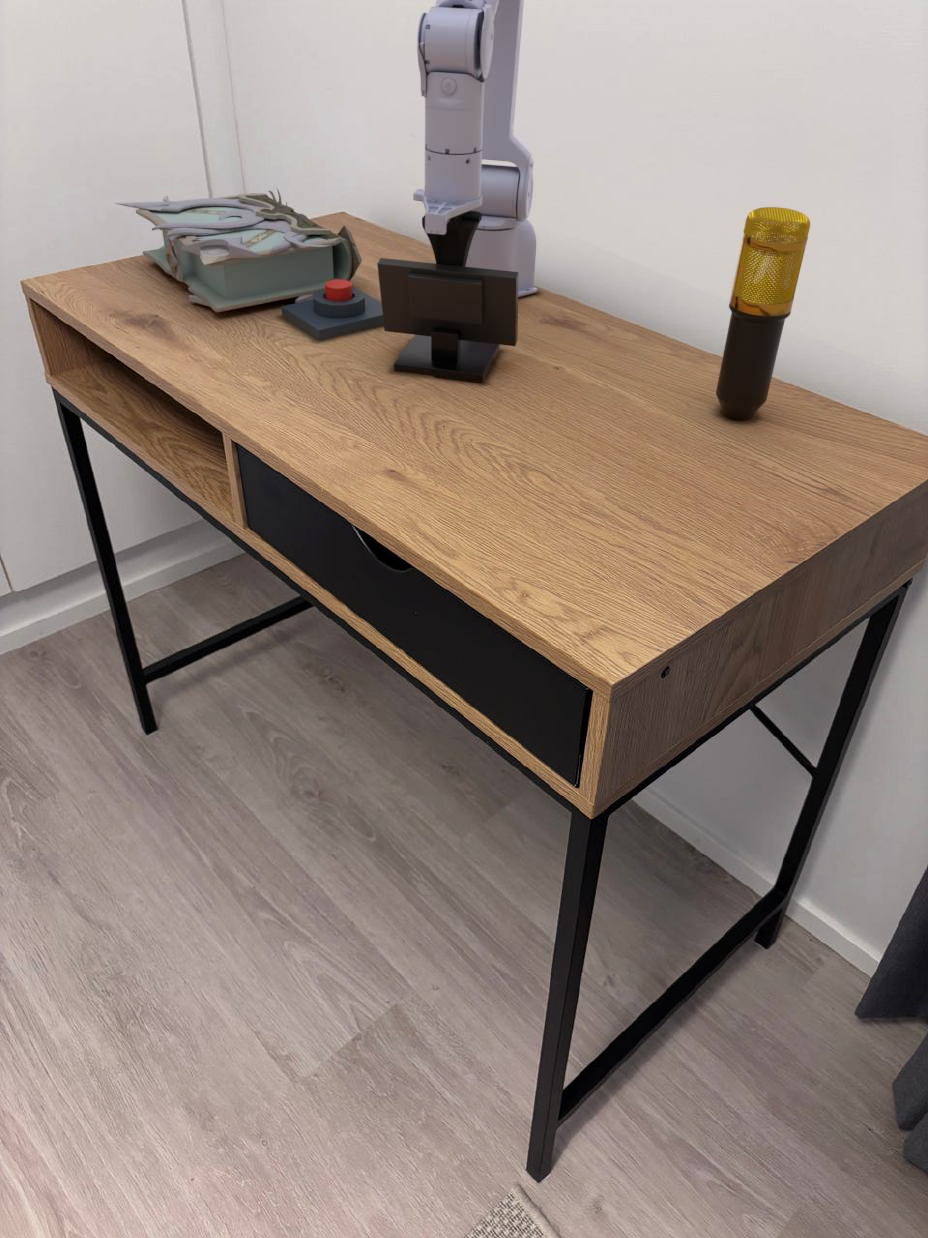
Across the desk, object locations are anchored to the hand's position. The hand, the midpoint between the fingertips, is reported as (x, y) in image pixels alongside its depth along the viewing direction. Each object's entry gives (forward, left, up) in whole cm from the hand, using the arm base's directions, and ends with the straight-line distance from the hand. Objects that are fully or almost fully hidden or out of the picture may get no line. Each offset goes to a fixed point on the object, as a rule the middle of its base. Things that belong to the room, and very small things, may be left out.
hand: (450, 284), depth 108 cm
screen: (0, 0, -6) cm, 6 cm away
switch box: (+4, -17, -8) cm, 19 cm away
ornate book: (+7, -37, -9) cm, 38 cm away
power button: (+4, -17, -6) cm, 18 cm away
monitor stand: (0, 0, -8) cm, 9 cm away
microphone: (-17, +24, -9) cm, 31 cm away
